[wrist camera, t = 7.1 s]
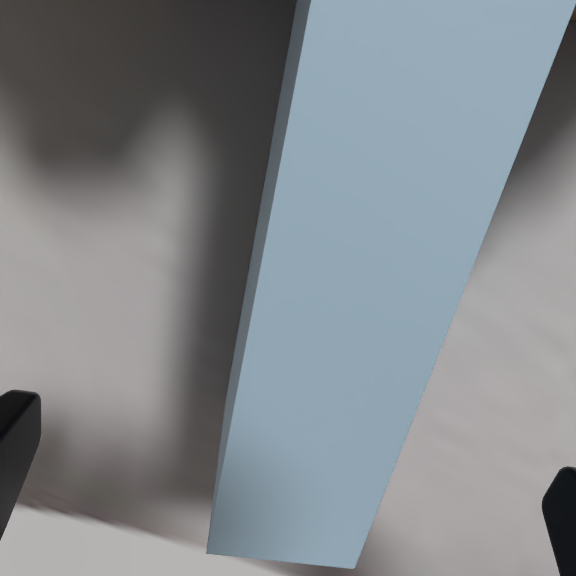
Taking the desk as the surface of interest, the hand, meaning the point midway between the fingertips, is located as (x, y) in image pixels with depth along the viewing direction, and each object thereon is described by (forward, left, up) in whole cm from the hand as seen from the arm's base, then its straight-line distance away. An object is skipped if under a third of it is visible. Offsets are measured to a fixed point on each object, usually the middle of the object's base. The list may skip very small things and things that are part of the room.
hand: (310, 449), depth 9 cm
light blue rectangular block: (+3, 0, -6) cm, 6 cm away
